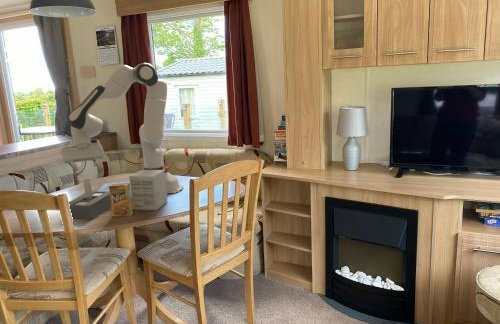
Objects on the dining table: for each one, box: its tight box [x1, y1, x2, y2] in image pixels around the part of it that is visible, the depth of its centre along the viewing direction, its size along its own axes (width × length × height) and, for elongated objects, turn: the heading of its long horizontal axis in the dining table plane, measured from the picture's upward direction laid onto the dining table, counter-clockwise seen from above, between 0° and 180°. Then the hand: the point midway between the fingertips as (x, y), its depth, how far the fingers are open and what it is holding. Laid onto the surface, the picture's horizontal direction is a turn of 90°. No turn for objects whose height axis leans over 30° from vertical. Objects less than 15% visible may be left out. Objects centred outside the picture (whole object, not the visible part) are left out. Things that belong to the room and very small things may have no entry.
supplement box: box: [128, 169, 168, 211], centre depth 195 cm, size 13×13×18 cm
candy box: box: [108, 182, 134, 217], centre depth 184 cm, size 9×4×15 cm, turn 89°
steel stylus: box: [82, 177, 93, 200], centre depth 190 cm, size 3×3×12 cm
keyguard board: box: [68, 191, 111, 221], centre depth 192 cm, size 14×22×7 cm, turn 171°
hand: (85, 167), depth 198 cm, fingers open, 8 cm apart
